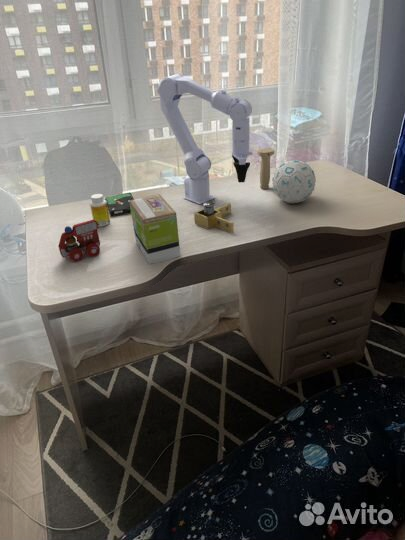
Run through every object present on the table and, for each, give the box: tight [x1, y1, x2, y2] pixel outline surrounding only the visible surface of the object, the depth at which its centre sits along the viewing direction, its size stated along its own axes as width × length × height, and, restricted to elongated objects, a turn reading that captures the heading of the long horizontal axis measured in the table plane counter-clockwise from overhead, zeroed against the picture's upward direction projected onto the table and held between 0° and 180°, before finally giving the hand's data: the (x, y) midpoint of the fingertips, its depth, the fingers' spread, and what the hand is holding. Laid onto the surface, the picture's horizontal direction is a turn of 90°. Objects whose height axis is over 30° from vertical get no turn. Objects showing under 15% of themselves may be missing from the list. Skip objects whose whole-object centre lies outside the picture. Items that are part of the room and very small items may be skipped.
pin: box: [202, 200, 216, 217], centre depth 137 cm, size 4×4×7 cm
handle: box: [257, 147, 275, 190], centre depth 159 cm, size 5×6×15 cm
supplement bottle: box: [89, 193, 111, 228], centre depth 139 cm, size 6×6×10 cm
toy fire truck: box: [57, 219, 101, 263], centre depth 121 cm, size 7×12×10 cm, turn 120°
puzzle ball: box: [272, 159, 317, 204], centre depth 147 cm, size 15×15×15 cm
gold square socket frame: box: [193, 202, 235, 234], centre depth 137 cm, size 14×14×4 cm
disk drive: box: [104, 192, 135, 217], centre depth 153 cm, size 10×3×15 cm
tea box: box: [129, 193, 181, 265], centre depth 121 cm, size 15×10×15 cm, turn 23°
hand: (240, 178), depth 145 cm, fingers open, 7 cm apart
